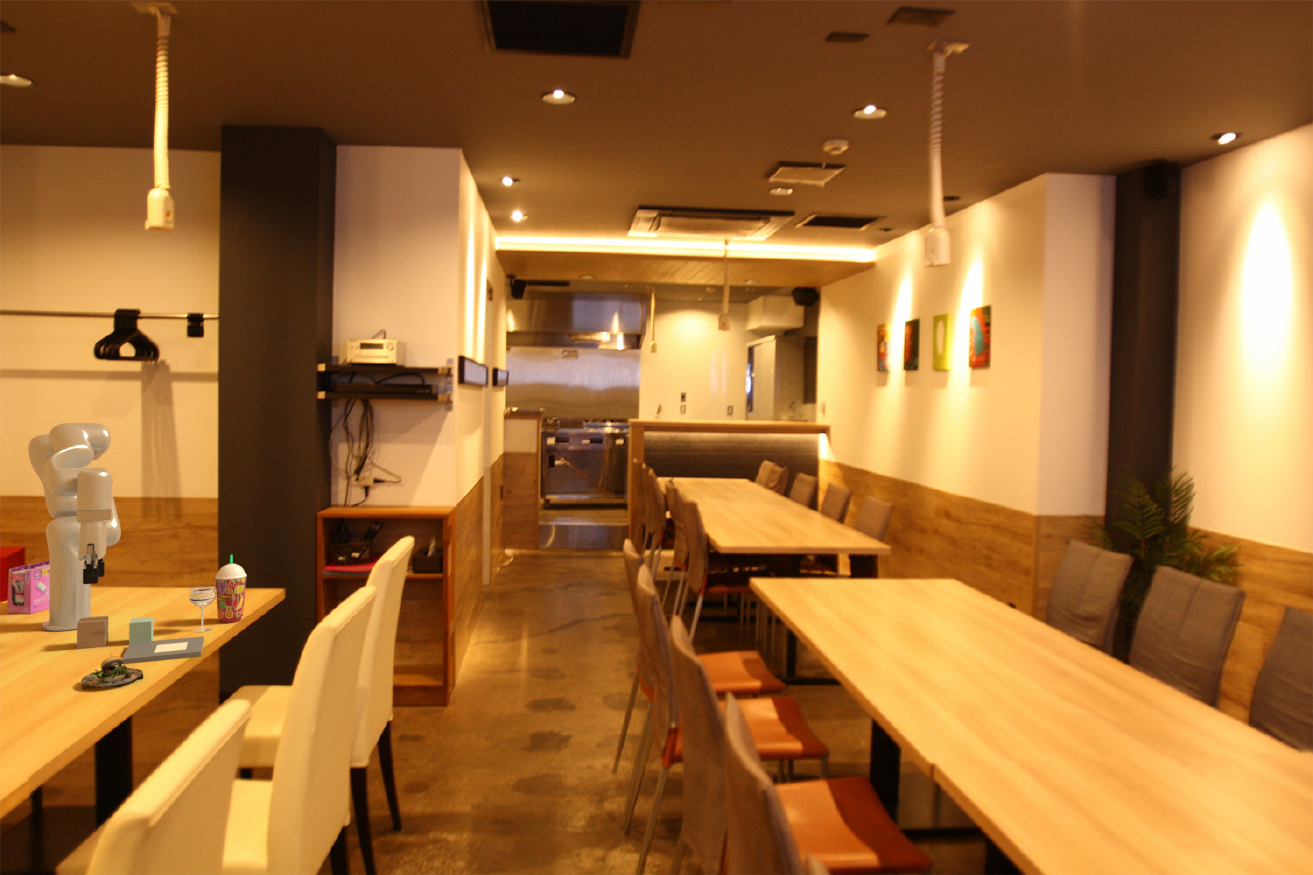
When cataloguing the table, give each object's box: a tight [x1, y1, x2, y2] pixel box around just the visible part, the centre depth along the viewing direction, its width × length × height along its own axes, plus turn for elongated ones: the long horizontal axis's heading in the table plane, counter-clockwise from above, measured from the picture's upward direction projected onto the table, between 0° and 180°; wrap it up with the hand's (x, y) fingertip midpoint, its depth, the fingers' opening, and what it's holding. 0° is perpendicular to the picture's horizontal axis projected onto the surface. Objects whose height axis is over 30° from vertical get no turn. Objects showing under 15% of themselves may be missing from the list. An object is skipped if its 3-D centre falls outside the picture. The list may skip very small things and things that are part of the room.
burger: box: [80, 655, 144, 691], centre depth 181 cm, size 12×12×8 cm
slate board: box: [121, 636, 205, 665], centre depth 204 cm, size 15×17×1 cm
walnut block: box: [76, 615, 110, 650], centre depth 207 cm, size 6×6×7 cm
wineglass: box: [188, 585, 217, 633], centre depth 224 cm, size 7×7×12 cm
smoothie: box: [215, 554, 248, 624], centre depth 234 cm, size 8×8×20 cm
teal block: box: [128, 616, 155, 645], centre depth 212 cm, size 5×5×6 cm
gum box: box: [6, 559, 50, 615], centre depth 246 cm, size 24×8×14 cm, turn 177°
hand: (93, 580), depth 207 cm, fingers open, 9 cm apart
